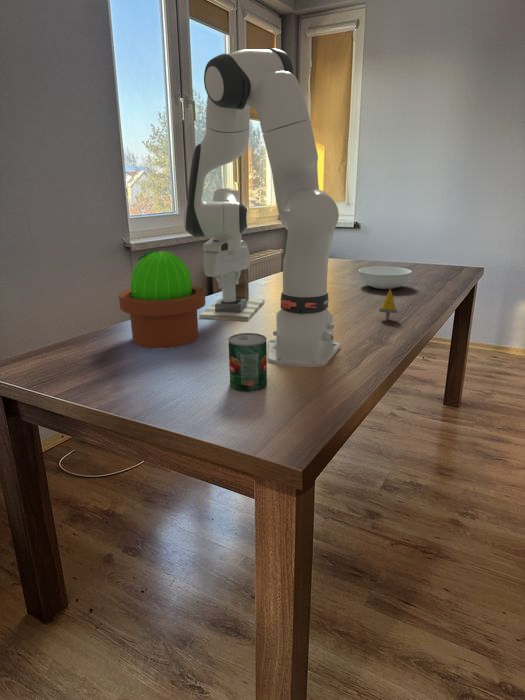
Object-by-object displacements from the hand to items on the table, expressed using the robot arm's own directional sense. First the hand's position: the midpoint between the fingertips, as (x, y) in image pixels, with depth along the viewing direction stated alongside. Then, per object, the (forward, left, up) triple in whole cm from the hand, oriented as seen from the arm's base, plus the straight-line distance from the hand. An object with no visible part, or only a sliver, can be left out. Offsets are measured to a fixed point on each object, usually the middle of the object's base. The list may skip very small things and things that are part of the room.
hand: (228, 286), depth 156 cm
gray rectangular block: (0, 0, -5) cm, 5 cm away
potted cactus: (-31, +9, -9) cm, 33 cm away
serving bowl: (+51, -51, -9) cm, 73 cm away
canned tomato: (-58, -21, -9) cm, 62 cm away
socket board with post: (+3, -1, -9) cm, 10 cm away
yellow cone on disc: (-1, -51, -9) cm, 51 cm away
